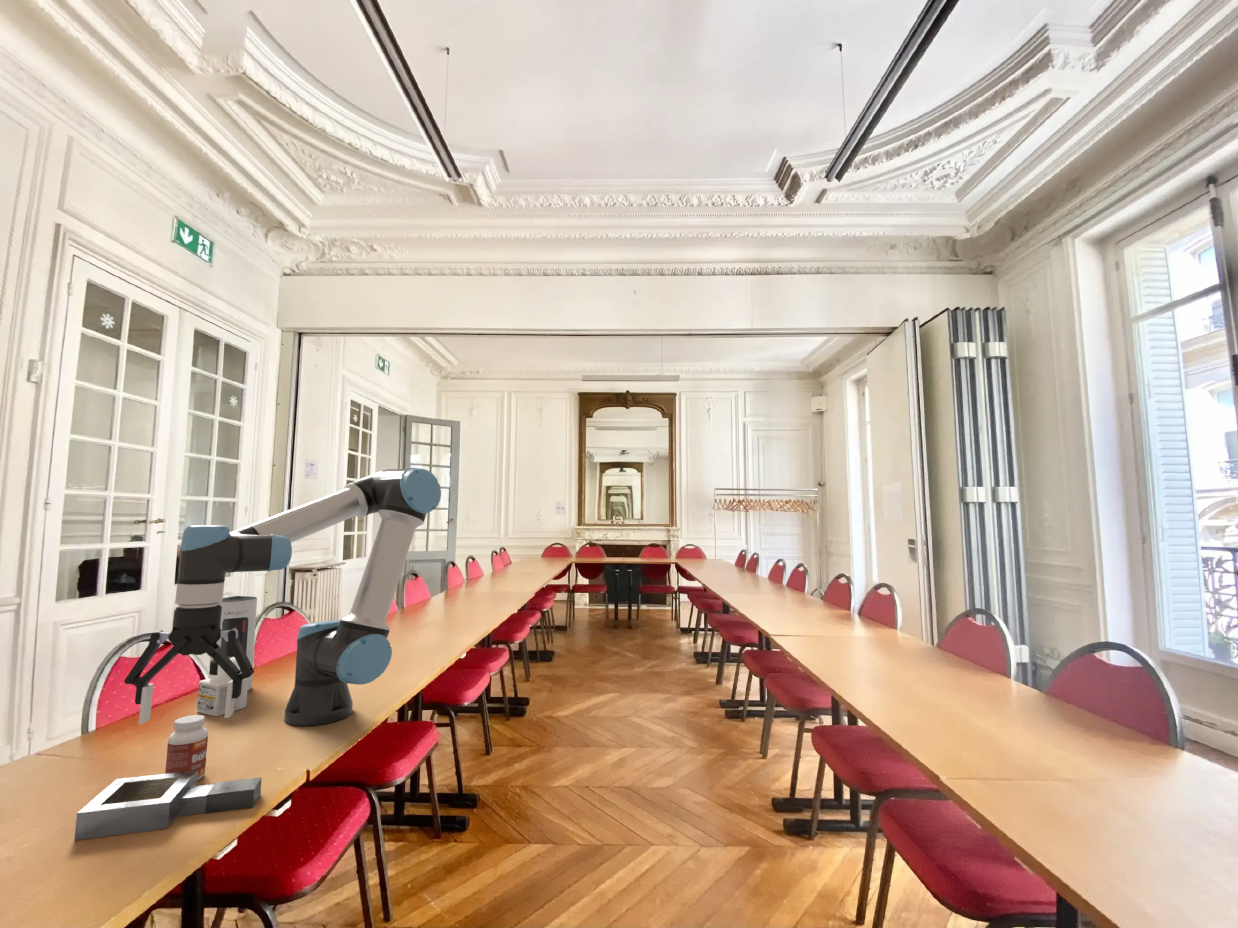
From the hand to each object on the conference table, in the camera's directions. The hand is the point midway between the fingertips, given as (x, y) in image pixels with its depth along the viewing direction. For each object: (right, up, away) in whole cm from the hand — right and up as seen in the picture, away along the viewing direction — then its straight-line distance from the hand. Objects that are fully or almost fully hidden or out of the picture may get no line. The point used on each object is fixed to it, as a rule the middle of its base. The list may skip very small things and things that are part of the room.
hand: (187, 718), depth 109 cm
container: (-19, -14, +37) cm, 44 cm away
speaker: (-27, -16, +52) cm, 61 cm away
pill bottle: (0, -11, -1) cm, 11 cm away
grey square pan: (+8, -10, -12) cm, 17 cm away
